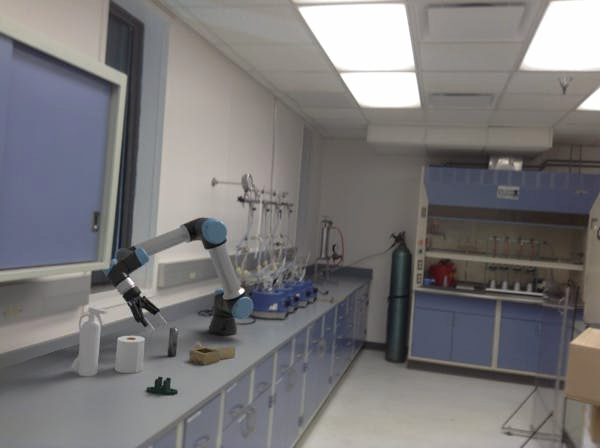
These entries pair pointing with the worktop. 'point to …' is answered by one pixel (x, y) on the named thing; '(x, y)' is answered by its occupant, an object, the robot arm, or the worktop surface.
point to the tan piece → (210, 354)
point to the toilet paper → (129, 354)
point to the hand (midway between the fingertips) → (158, 328)
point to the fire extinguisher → (89, 342)
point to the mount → (162, 387)
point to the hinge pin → (172, 342)
